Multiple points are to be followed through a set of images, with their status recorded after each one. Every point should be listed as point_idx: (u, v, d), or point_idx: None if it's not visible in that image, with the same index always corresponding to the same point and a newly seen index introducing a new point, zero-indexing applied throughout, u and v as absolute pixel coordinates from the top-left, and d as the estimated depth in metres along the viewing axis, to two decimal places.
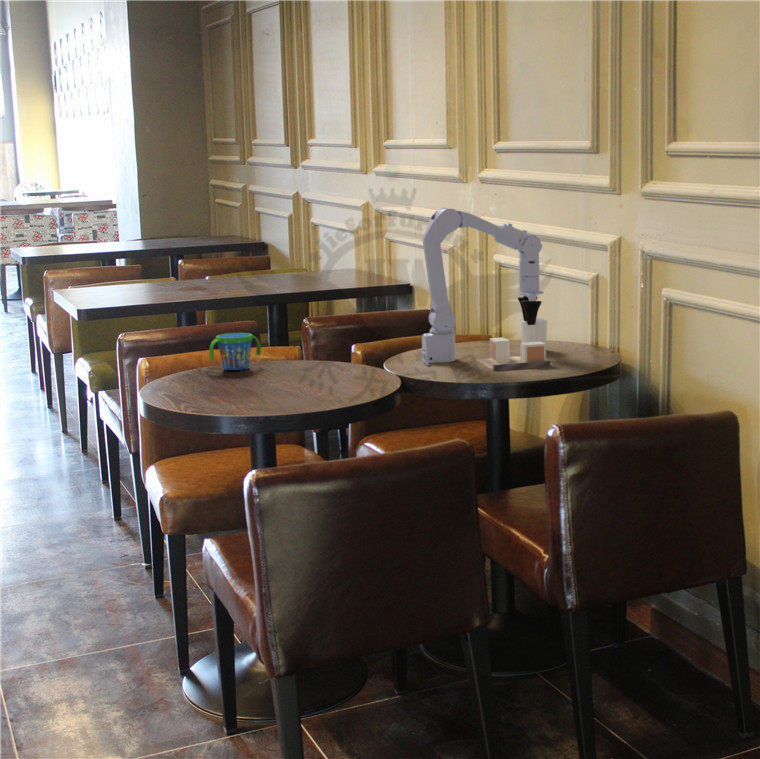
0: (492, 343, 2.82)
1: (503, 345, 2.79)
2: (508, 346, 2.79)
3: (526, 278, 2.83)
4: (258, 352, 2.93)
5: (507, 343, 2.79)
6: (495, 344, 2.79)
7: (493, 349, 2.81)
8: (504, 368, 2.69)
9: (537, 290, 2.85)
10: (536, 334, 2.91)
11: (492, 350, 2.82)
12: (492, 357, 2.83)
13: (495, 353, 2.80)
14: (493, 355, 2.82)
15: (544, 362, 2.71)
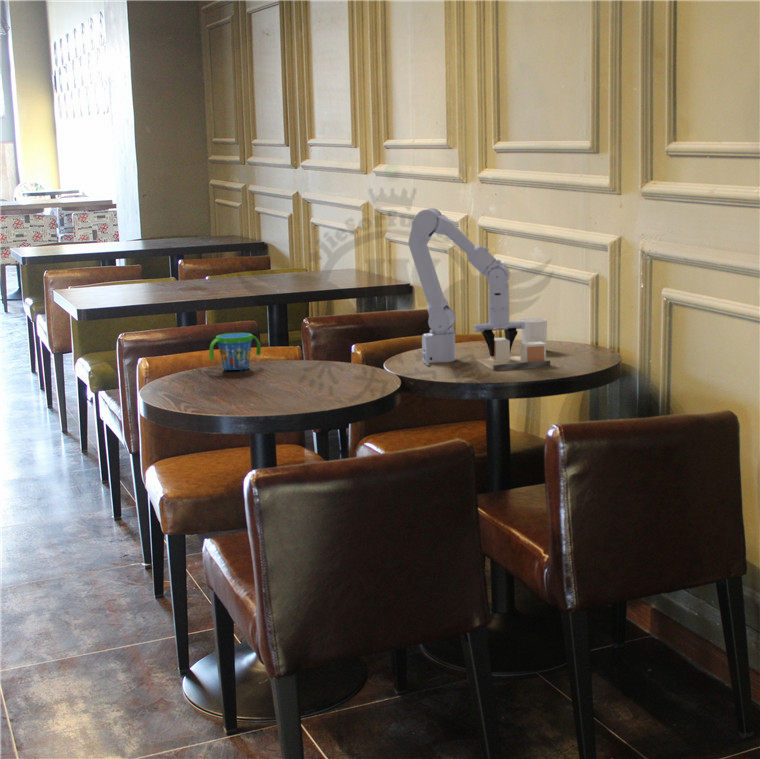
0: None
1: (503, 345, 2.79)
2: (508, 346, 2.79)
3: (489, 309, 2.81)
4: (258, 352, 2.93)
5: (507, 343, 2.79)
6: (495, 344, 2.79)
7: None
8: (504, 368, 2.69)
9: (495, 323, 2.78)
10: (536, 334, 2.91)
11: None
12: (492, 357, 2.83)
13: (495, 353, 2.80)
14: None
15: (544, 362, 2.71)
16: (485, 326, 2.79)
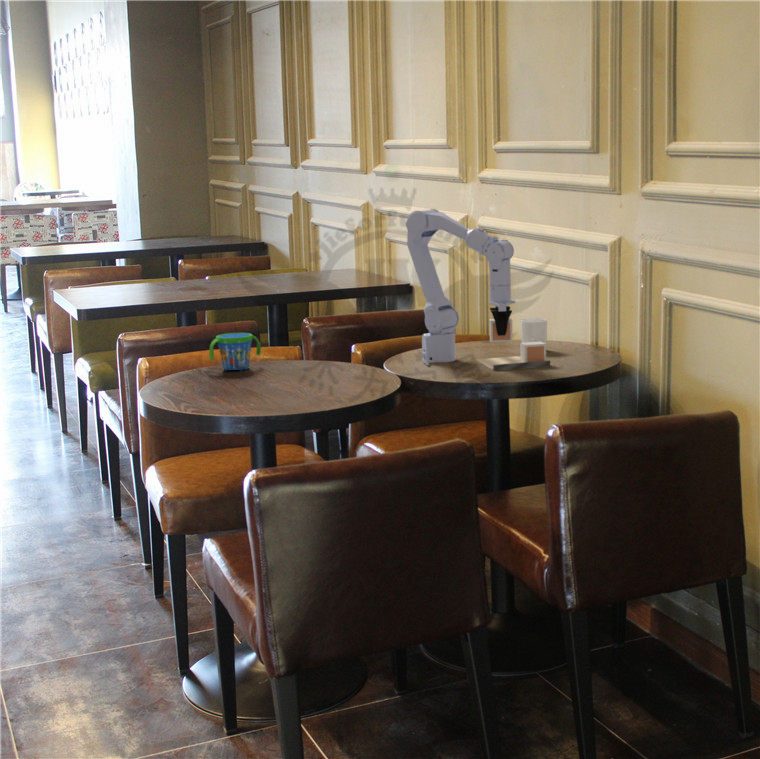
0: None
1: None
2: None
3: (496, 287, 2.69)
4: (258, 352, 2.93)
5: None
6: (510, 323, 2.72)
7: None
8: (504, 368, 2.69)
9: (508, 299, 2.71)
10: (536, 334, 2.91)
11: None
12: (499, 339, 2.73)
13: (509, 333, 2.72)
14: (503, 336, 2.73)
15: (544, 362, 2.71)
16: (507, 304, 2.68)
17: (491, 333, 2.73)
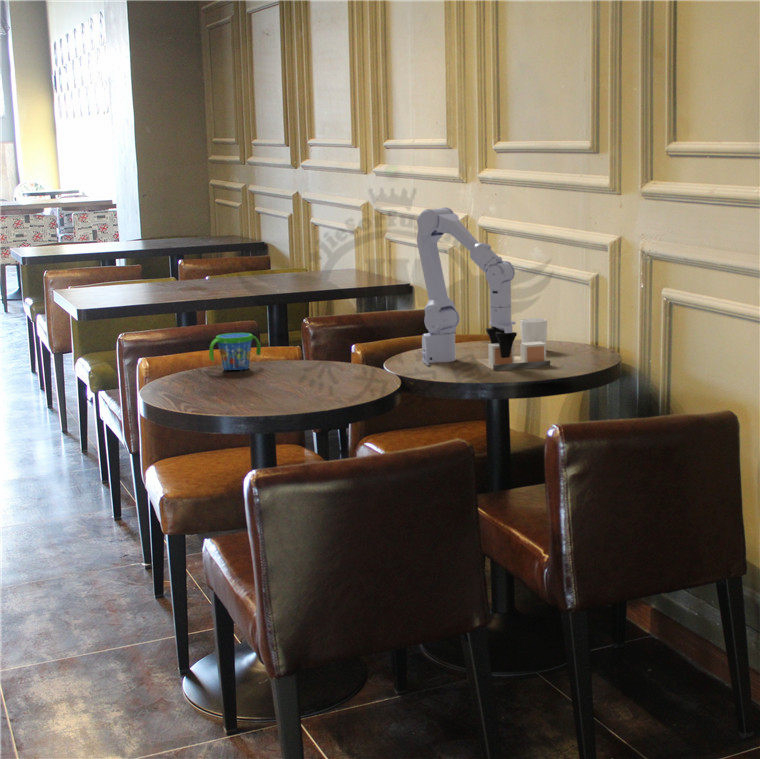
0: None
1: None
2: None
3: (499, 309, 2.69)
4: (258, 352, 2.93)
5: None
6: (511, 348, 2.72)
7: None
8: (504, 368, 2.69)
9: (510, 321, 2.71)
10: (536, 334, 2.91)
11: None
12: None
13: (511, 357, 2.73)
14: (505, 361, 2.73)
15: (544, 362, 2.71)
16: (511, 325, 2.68)
17: (493, 358, 2.72)
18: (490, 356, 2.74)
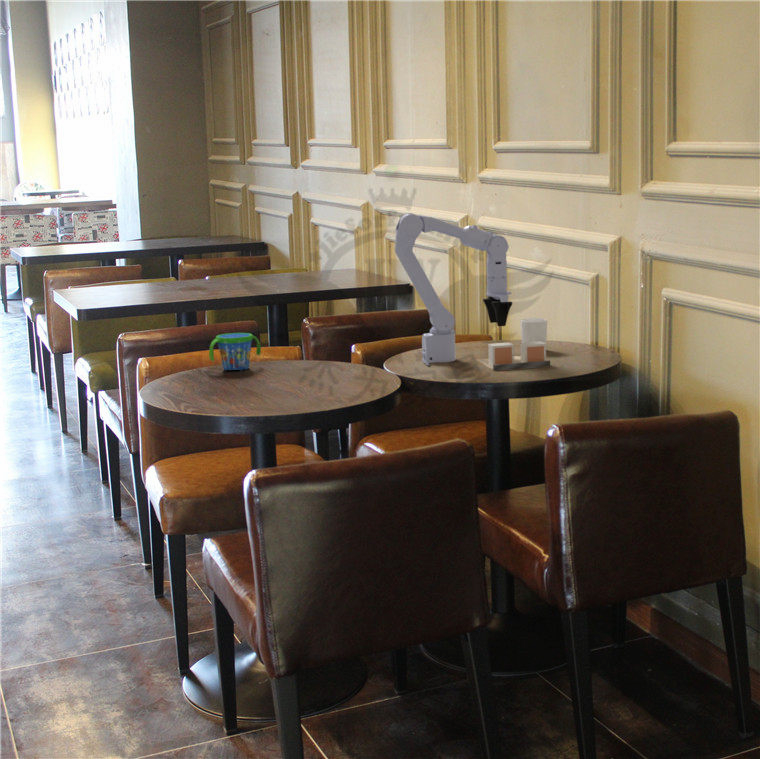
0: (502, 349, 2.72)
1: None
2: None
3: (495, 279, 2.81)
4: (258, 352, 2.93)
5: None
6: (511, 348, 2.72)
7: (505, 355, 2.72)
8: (504, 368, 2.69)
9: (506, 291, 2.83)
10: (536, 334, 2.91)
11: (501, 356, 2.72)
12: None
13: (511, 357, 2.73)
14: (505, 361, 2.73)
15: (544, 362, 2.71)
16: None
17: (493, 358, 2.72)
18: (490, 356, 2.74)
